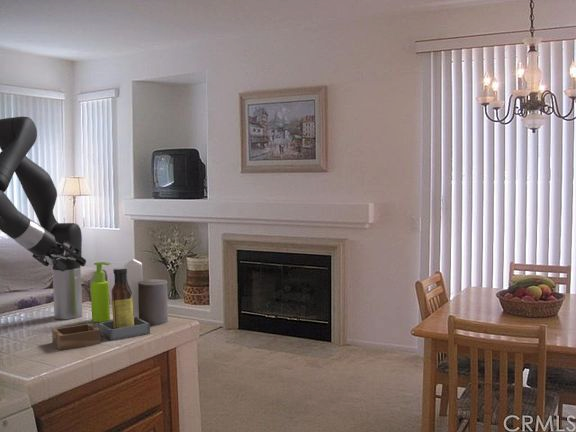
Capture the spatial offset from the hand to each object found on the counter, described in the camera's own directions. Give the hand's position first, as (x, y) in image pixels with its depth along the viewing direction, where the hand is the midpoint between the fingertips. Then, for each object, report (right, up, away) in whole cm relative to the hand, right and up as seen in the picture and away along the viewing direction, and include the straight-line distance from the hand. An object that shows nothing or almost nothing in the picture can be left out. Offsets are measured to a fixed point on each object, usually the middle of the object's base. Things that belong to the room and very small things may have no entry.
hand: (74, 266), depth 171 cm
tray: (+14, -21, +4) cm, 26 cm away
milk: (+12, -20, +25) cm, 34 cm away
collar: (+3, -22, -6) cm, 23 cm away
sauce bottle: (+14, -21, +4) cm, 25 cm away
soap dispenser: (+1, -21, +22) cm, 30 cm away
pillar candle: (+20, -21, +18) cm, 34 cm away
